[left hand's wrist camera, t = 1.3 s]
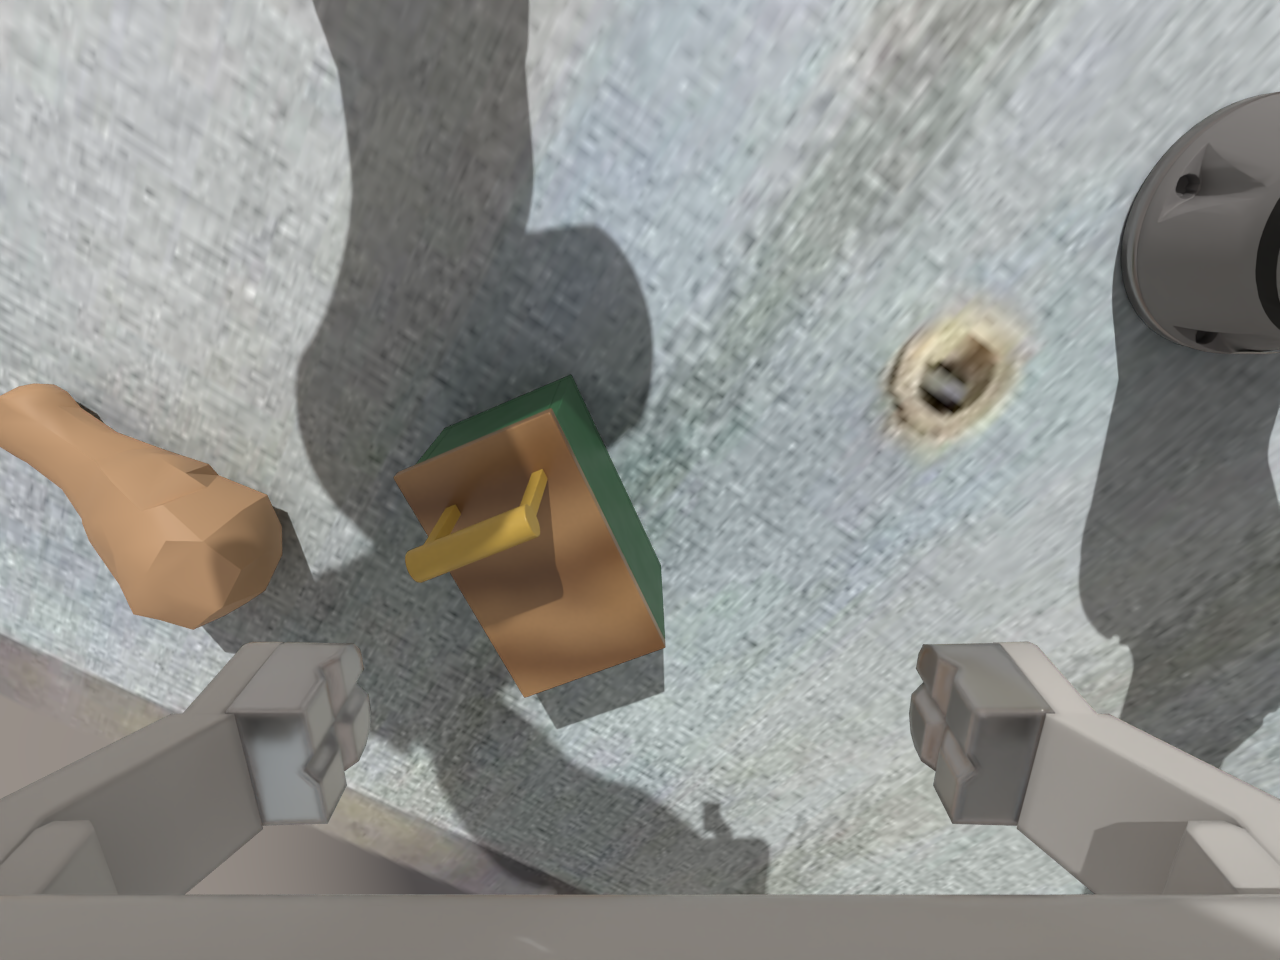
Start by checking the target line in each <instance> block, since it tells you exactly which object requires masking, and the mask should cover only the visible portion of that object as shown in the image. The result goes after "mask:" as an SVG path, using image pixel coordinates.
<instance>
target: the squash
mask: <svg viewBox="0 0 1280 960" xmlns="http://www.w3.org/2000/svg"><path fill="white" fill-rule="evenodd" d="M0 447H1V448H3V449H5V450H6V451H8V452H9V453H11V454H13V455H14V456H16V457H18V458H19V459H21V460H23V461H25V462H27V463H28V464H29V465H31V466H32V467H33V468H35V469H36V470H37V471H39V472H40V473H41V474H43V475H44V476H45V477H47V478H48V479H49V480H51V481H52V482H53V483H55V484H56V485H57V486H58V487H60V488H61V489H62V490H63V491H64V493H65V494H66V496H67V497H68V499H69V500H70V502H71V503H72V505H73V506H74V508H75V509H76V511H77V512H78V514H79V515H80V517H81V518H82V524H83V526H84V529H85V531H86V534H87V536H88V539H89V541H90V543H91V544H92V546H93V547H94V549H95V550H96V551H97V553H98V554H99V556H100V557H101V559H102V560H103V562H104V563H105V564H106V566H107V567H108V569H109V570H110V572H111V573H112V575H113V576H114V578H115V579H116V580H117V582H118V583H119V585H120V587H121V589H122V591H123V593H124V595H125V597H126V599H127V602H128V604H129V606H130V608H131V610H132V612H133V614H135V615H140V616H144V617H149V618H154V619H158V620H162V621H165V622H169V623H172V624H176V625H179V626H183V627H186V628H189V629H193V630H194V629H196V628H198V627H200V626H202V625H205V624H207V623H209V622H211V621H214V620H216V619H218V618H220V617H223V616H225V615H227V614H228V613H230V612H232V611H234V610H235V609H237V608H239V607H240V606H242V605H244V604H246V603H247V602H249V601H250V600H252V599H253V598H255V597H256V596H258V595H259V594H261V593H262V592H264V591H265V590H266V588H267V586H268V584H269V582H270V579H271V577H272V575H273V573H274V571H275V569H276V567H277V565H278V563H279V560H280V558H281V556H282V526H281V524H280V521H279V519H278V517H277V515H276V513H275V511H274V509H273V506H272V504H271V502H270V500H269V498H268V496H267V495H266V494H263V493H261V492H259V491H256V490H254V489H251V488H249V487H246V486H244V485H241V484H239V483H236V482H234V481H231V480H229V479H226V478H224V477H221V476H219V475H218V474H217V473H216V472H215V471H214V470H213V468H212V467H211V466H210V465H209V464H206V463H203V462H200V461H197V460H194V459H191V458H188V457H185V456H182V455H179V454H176V453H173V452H170V451H167V450H164V449H161V448H158V447H155V446H153V445H150V444H147V443H145V442H142V441H139V440H136V439H134V438H131V437H128V436H126V435H123V434H120V433H118V432H116V431H114V430H113V429H111V428H110V427H108V426H107V425H106V424H104V423H103V422H101V421H100V420H98V419H97V418H95V417H94V416H92V415H91V414H89V413H88V412H86V411H85V410H84V409H82V408H81V407H80V406H79V405H78V404H77V402H76V401H75V400H74V399H73V398H72V397H71V396H70V395H69V393H68V392H67V391H65V390H63V389H61V388H59V387H58V386H56V385H52V384H29V385H24V386H19V387H17V388H15V389H13V390H11V391H9V392H7V393H5V394H3V395H1V396H0Z"/></svg>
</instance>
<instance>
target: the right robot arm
mask: <svg viewBox="0 0 1280 960" xmlns="http://www.w3.org/2000/svg"><path fill="white" fill-rule="evenodd" d="M1121 265H1122V275H1123V281H1124V285H1125V289H1126V292H1127V295H1128V298H1129V300H1130V302H1131V304H1132V306H1133V308H1134V309H1135V311H1136V312H1137V314H1138V315H1139V317H1140V318H1141V319H1142V320H1143V321H1144V323H1145V324H1146V325H1147V326H1148V327H1150V328H1151V329H1152V330H1153V331H1154V332H1156V333H1157V334H1159V335H1160V336H1162V337H1164V338H1165V339H1167V340H1169V341H1172V342H1174V343H1177V344H1179V345H1183V346H1186V347H1190V348H1193V349H1197V350H1201V351H1205V352H1211V353H1225V354H1271V353H1280V352H1263V351H1271V350H1280V92H1275V93H1269V94H1263V95H1258V96H1254V97H1250V98H1247V99H1244V100H1241V101H1238V102H1236V103H1233V104H1231V105H1229V106H1227V107H1225V108H1222V109H1220V110H1219V111H1217V112H1215V113H1213V114H1212V115H1210V116H1208V117H1207V118H1205V119H1204V120H1202V121H1201V122H1199V123H1198V124H1196V125H1195V126H1194V127H1193V128H1191V129H1190V130H1189V131H1188V132H1186V133H1185V134H1184V135H1183V136H1182V137H1181V138H1180V139H1179V140H1178V141H1176V142H1175V143H1174V144H1173V145H1172V146H1171V147H1170V149H1169V150H1168V151H1167V152H1166V153H1165V154H1164V155H1163V156H1162V158H1161V159H1160V160H1159V161H1158V163H1157V164H1156V165H1155V167H1154V168H1153V169H1152V171H1151V172H1150V174H1149V175H1148V177H1147V178H1146V180H1145V182H1144V183H1143V185H1142V187H1141V189H1140V191H1139V192H1138V195H1137V197H1136V199H1135V201H1134V203H1133V206H1132V208H1131V211H1130V214H1129V216H1128V220H1127V223H1126V227H1125V231H1124V237H1123V242H1122V253H1121Z"/></svg>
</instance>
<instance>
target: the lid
mask: <svg viewBox="0 0 1280 960" xmlns="http://www.w3.org/2000/svg"><path fill="white" fill-rule="evenodd" d="M394 480H395V482H396V483H397V485H398V487H399V488H400V490H401V492H402V493H403V495H404V497H405V498H406V500H407V502H408V503H409V505H410V507H411V508H412V510H413V512H414V513H415V515H416V517H417V518H418V520H419V522H420V523H421V525H422V527H423V529H424V530H425V532H426V534H427V535H428V538H427V540H426V542H425V543H424V545H422V546H419V547H417V548H414V549H412V550H409V551H408V552H407V553H406V556H405V563H406V567H407V570H408V572H409V574H410V576H411V577H412V578H413V579H414V580H415V581H416V582H419V583H422V582H424V581H427V580H429V579H432V578H435V577H437V576H440V575H442V574H445V573H447V572H450V574H451V575H452V577H453V579H454V581H455V582H456V584H457V586H458V587H459V589H460V591H461V592H462V594H463V596H464V597H465V599H466V601H467V602H468V604H469V606H470V607H471V609H472V611H473V612H474V614H475V616H476V617H477V619H478V621H479V622H480V624H481V626H482V627H483V629H484V631H485V633H486V634H487V636H488V638H489V639H490V641H491V643H492V644H493V646H494V648H495V649H496V651H497V653H498V654H499V656H500V658H501V659H502V661H503V663H504V664H505V666H506V668H507V669H508V671H509V673H510V674H511V676H512V678H513V679H514V681H515V683H516V685H517V686H518V688H519V690H520V691H521V693H522V695H523V696H524V697H525V698H526V697H528V696H531V695H534V694H537V693H540V692H542V691H545V690H548V689H551V688H554V687H556V686H559V685H562V684H565V683H568V682H570V681H573V680H576V679H579V678H582V677H584V676H587V675H590V674H593V673H596V672H599V671H601V670H604V669H607V668H610V667H613V666H615V665H618V664H621V663H624V662H627V661H629V660H632V659H635V658H638V657H641V656H643V655H646V654H649V653H652V652H655V651H657V650H660V649H663V648H665V639H664V637H663V635H662V632H661V630H660V628H659V626H658V624H657V622H656V620H655V618H654V616H653V614H652V612H651V610H650V608H649V606H648V604H647V602H646V600H645V598H644V596H643V594H642V592H641V590H640V587H639V585H638V583H637V581H636V579H635V577H634V575H633V573H632V571H631V569H630V567H629V565H628V563H627V561H626V559H625V557H624V555H623V553H622V551H621V549H620V547H619V544H618V542H617V540H616V538H615V536H614V534H613V532H612V530H611V528H610V526H609V524H608V522H607V520H606V518H605V516H604V514H603V512H602V510H601V508H600V506H599V504H598V502H597V499H596V497H595V495H594V493H593V491H592V489H591V487H590V485H589V483H588V481H587V479H586V477H585V475H584V473H583V471H582V469H581V467H580V465H579V463H578V461H577V459H576V456H575V454H574V452H573V450H572V448H571V446H570V444H569V442H568V440H567V438H566V436H565V434H564V432H563V430H562V428H561V426H560V424H559V422H558V420H557V418H556V416H555V414H554V411H553V409H552V408H550V409H547V410H545V411H543V412H540V413H538V414H535V415H533V416H531V417H528V418H526V419H524V420H521V421H519V422H516V423H514V424H512V425H509V426H507V427H504V428H502V429H500V430H497V431H495V432H492V433H490V434H488V435H485V436H483V437H481V438H478V439H476V440H473V441H471V442H469V443H466V444H464V445H461V446H459V447H457V448H454V449H452V450H450V451H447V452H445V453H442V454H440V455H438V456H435V457H433V458H430V459H428V460H426V461H423V462H421V463H418V464H416V465H414V466H411V467H409V468H407V469H404V470H402V471H399V472H398V473H397V474H396V475H395V476H394Z"/></svg>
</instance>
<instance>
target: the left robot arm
mask: <svg viewBox="0 0 1280 960" xmlns="http://www.w3.org/2000/svg"><path fill="white" fill-rule="evenodd" d="M363 670H364V666H363V661H362V656H361V651H360V649H359V648H358V647H357V646H356V645H355V644H354V643H310V642H286V643H284V642H251V643H248V644H245V645H243V646H242V647H241V648H240V649H239V651H238V652H237V653H236V654H235V655H234V656H233V657H232V658H231V660H230V661H229V662H228V663H227V664H226V665H225V666H224V667H223V669H222V670H221V671H220V672H219V673H218V674H217V675H216V676H215V678H214V679H213V680H212V681H211V682H210V683H209V684H208V685H207V687H206V688H205V689H204V690H203V691H202V692H201V693H200V695H199V696H198V697H197V698H196V699H195V700H194V701H193V702H192V704H191V705H190V706H189V707H188V708H187V709H186V710H185V711H184V713H183V714H170V715H168V716H166V717H164V718H162V719H160V720H158V721H156V722H154V723H152V724H150V725H148V726H146V727H144V728H142V729H140V730H138V731H136V732H134V733H132V734H130V735H128V736H126V737H124V738H122V739H120V740H118V741H116V742H114V743H112V744H110V745H108V746H106V747H104V748H102V749H100V750H98V751H96V752H94V753H92V754H90V755H88V756H86V757H84V758H81V759H79V760H77V761H75V762H73V763H71V764H70V765H67V766H66V767H63V768H61V769H59V770H57V771H56V772H53V773H51V774H49V775H47V776H45V777H44V778H41V779H39V780H37V781H35V782H33V783H31V784H29V785H27V786H25V787H23V788H21V789H19V790H17V791H15V792H13V793H11V794H9V795H7V796H5V797H3V798H1V799H0V960H1280V799H1278V798H1276V797H1274V796H1272V795H1270V794H1268V793H1266V792H1264V791H1262V790H1260V789H1258V788H1256V787H1254V786H1252V785H1250V784H1248V783H1246V782H1244V781H1242V780H1240V779H1238V778H1236V777H1234V776H1232V775H1230V774H1228V773H1226V772H1224V771H1222V770H1220V769H1218V768H1216V767H1214V766H1212V765H1210V764H1208V763H1206V762H1204V761H1202V760H1200V759H1198V758H1196V757H1194V756H1192V755H1190V754H1188V753H1186V752H1184V751H1182V750H1180V749H1178V748H1176V747H1174V746H1172V745H1170V744H1168V743H1166V742H1164V741H1162V740H1160V739H1158V738H1156V737H1154V736H1152V735H1150V734H1148V733H1146V732H1144V731H1142V730H1140V729H1138V728H1136V727H1134V726H1132V725H1130V724H1128V723H1126V722H1124V721H1122V720H1120V719H1118V718H1116V717H1114V716H1112V715H1110V714H1097V713H1096V711H1095V710H1094V709H1093V708H1092V707H1091V706H1090V705H1089V704H1088V702H1087V701H1086V700H1085V699H1084V698H1083V697H1082V696H1081V695H1080V693H1079V692H1078V691H1077V690H1076V689H1075V688H1074V687H1073V686H1072V684H1071V683H1070V682H1069V681H1068V680H1067V679H1066V678H1065V676H1064V675H1063V674H1062V673H1061V672H1060V671H1059V670H1058V669H1057V667H1056V666H1055V665H1054V664H1053V663H1052V662H1051V661H1050V660H1049V658H1048V657H1047V656H1046V655H1045V654H1044V653H1043V652H1042V651H1041V649H1040V648H1039V647H1038V646H1037V645H1035V644H1033V643H1031V642H1028V641H1025V642H995V643H976V644H923V646H922V648H921V650H920V652H919V654H918V660H917V665H916V670H917V671H918V673H919V675H920V677H921V678H922V680H923V683H922V684H921V685H920V686H919V687H918V688H917V689H916V690H915V691H914V692H913V693H912V695H911V702H910V710H909V719H910V731H911V736H912V739H913V743H914V747H915V749H916V751H917V753H918V755H919V757H920V760H921V761H922V762H923V763H925V764H926V765H928V766H929V767H930V768H932V769H933V770H935V771H936V773H935V778H934V784H933V786H934V788H935V790H936V792H937V794H938V796H939V798H940V800H941V802H942V804H943V806H944V808H945V810H946V812H947V814H948V816H949V818H950V820H951V822H952V824H978V825H1014V826H1017V829H1018V830H1019V831H1020V832H1022V833H1023V834H1024V835H1025V836H1026V837H1027V838H1029V839H1030V840H1031V841H1032V842H1033V843H1035V844H1036V845H1037V846H1038V847H1039V848H1041V849H1042V850H1043V851H1044V852H1045V853H1047V854H1048V855H1049V856H1050V857H1051V858H1053V859H1054V860H1055V861H1056V862H1057V863H1058V864H1060V865H1061V866H1062V867H1063V868H1064V869H1066V870H1067V871H1068V872H1069V873H1070V874H1072V875H1073V876H1074V877H1075V878H1076V879H1078V880H1079V881H1080V882H1081V883H1082V884H1083V885H1085V886H1086V887H1087V888H1088V889H1089V890H1091V891H1092V892H1093V893H1094V894H1080V895H790V894H713V895H185V894H186V893H187V892H188V891H190V890H191V889H192V888H193V887H194V886H195V885H197V884H198V883H199V882H200V881H201V880H203V879H204V878H205V877H206V876H207V875H209V874H210V873H211V872H212V871H213V870H215V869H216V868H217V867H218V866H219V865H221V864H222V863H223V862H224V861H225V860H226V859H228V858H229V857H230V856H231V855H233V854H234V853H235V852H236V851H237V850H239V849H240V848H241V847H242V846H243V845H244V844H246V843H247V842H248V841H249V840H250V839H252V838H253V837H254V836H255V835H256V834H258V833H259V832H260V831H261V830H262V829H263V826H266V825H300V824H328V822H329V820H330V818H331V816H332V814H333V812H334V810H335V808H336V806H337V804H338V802H339V800H340V798H341V796H342V794H343V792H344V790H345V788H346V786H347V784H346V778H345V773H344V771H345V770H347V769H348V768H350V767H351V766H352V765H354V764H355V763H357V762H358V761H359V760H360V757H361V755H362V753H363V751H364V749H365V747H366V744H367V739H368V734H369V730H370V725H371V708H370V701H369V695H368V693H367V692H366V691H365V690H364V689H363V688H362V687H361V686H360V685H359V684H358V683H357V680H358V678H359V677H360V675H361V673H362V671H363Z"/></svg>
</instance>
